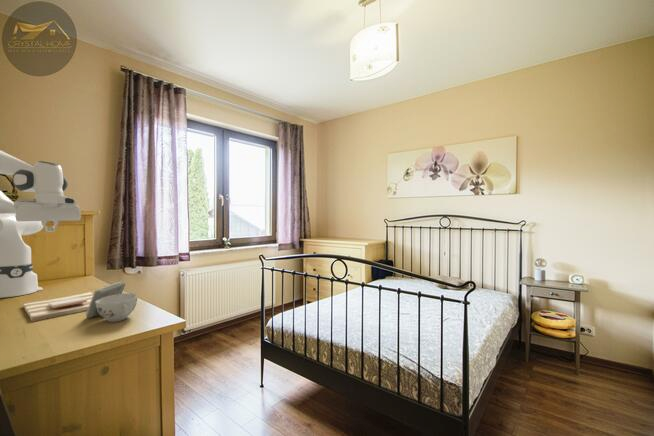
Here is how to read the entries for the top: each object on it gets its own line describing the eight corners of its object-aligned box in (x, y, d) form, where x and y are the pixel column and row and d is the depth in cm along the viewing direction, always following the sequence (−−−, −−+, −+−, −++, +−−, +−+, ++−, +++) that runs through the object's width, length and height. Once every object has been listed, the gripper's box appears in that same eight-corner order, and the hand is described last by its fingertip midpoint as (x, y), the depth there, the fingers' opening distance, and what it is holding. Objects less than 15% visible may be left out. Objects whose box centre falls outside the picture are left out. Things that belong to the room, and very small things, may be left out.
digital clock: (115, 305, 122) (114, 280, 122) (134, 305, 121) (134, 280, 121) (77, 318, 106) (77, 290, 106) (99, 320, 105) (99, 291, 105)
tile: (53, 305, 110) (53, 308, 110) (86, 299, 118) (86, 302, 118) (48, 302, 116) (48, 305, 116) (80, 297, 124) (80, 299, 124)
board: (23, 306, 119) (23, 303, 119) (90, 295, 137) (90, 292, 137) (32, 321, 103) (32, 317, 103) (107, 306, 120) (106, 302, 120)
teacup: (91, 320, 105) (90, 298, 105) (130, 311, 115) (130, 291, 115) (104, 330, 96) (104, 306, 96) (145, 319, 106) (145, 297, 105)
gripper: (14, 198, 113) (15, 233, 113) (81, 200, 129) (82, 230, 129) (13, 198, 117) (13, 232, 117) (78, 200, 133) (78, 230, 133)
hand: (50, 231), depth 123 cm, fingers closed
